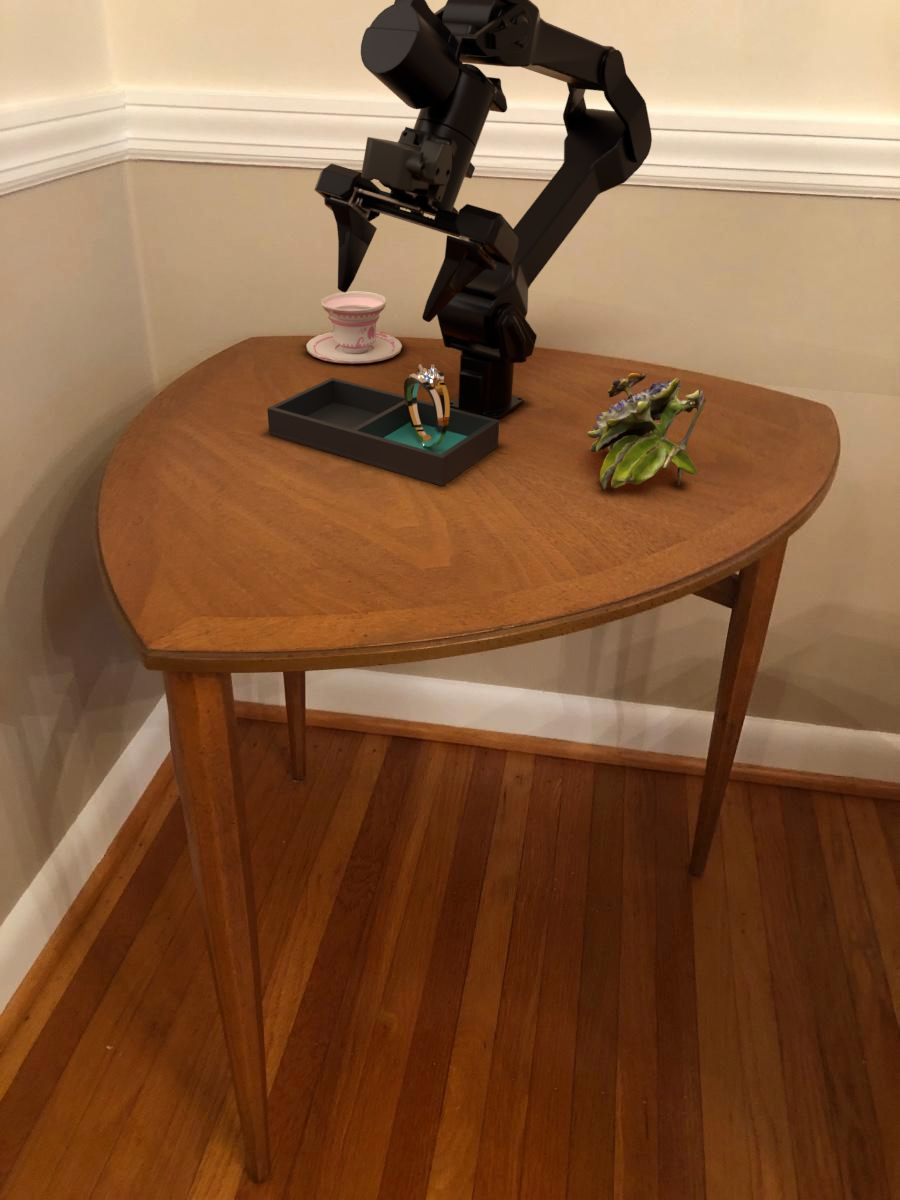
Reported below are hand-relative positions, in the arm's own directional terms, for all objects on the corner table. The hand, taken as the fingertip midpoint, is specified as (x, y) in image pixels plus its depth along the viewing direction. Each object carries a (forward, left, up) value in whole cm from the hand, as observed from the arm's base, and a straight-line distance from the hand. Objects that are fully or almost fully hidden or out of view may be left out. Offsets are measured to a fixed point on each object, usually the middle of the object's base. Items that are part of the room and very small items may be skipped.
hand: (382, 305), depth 86 cm
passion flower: (-9, +24, -14) cm, 29 cm away
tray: (-1, -1, -14) cm, 14 cm away
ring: (-2, +4, -14) cm, 14 cm away
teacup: (-22, -20, -14) cm, 33 cm away
